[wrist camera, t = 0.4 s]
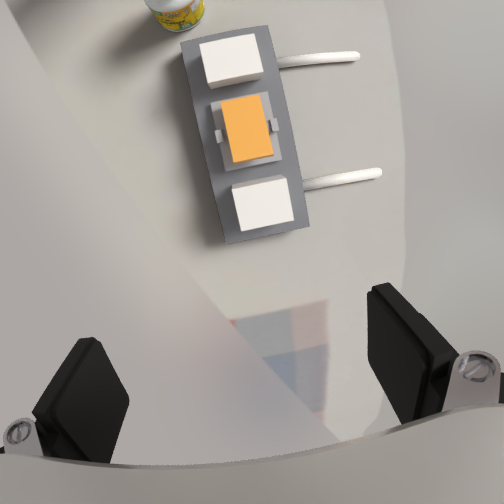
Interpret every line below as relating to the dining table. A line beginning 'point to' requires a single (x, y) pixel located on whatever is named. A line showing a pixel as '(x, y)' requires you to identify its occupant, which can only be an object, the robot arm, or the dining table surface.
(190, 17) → the supplement bottle
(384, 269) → the dining table surface
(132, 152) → the dining table surface
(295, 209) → the power strip
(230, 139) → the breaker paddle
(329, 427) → the dining table surface
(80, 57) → the dining table surface
